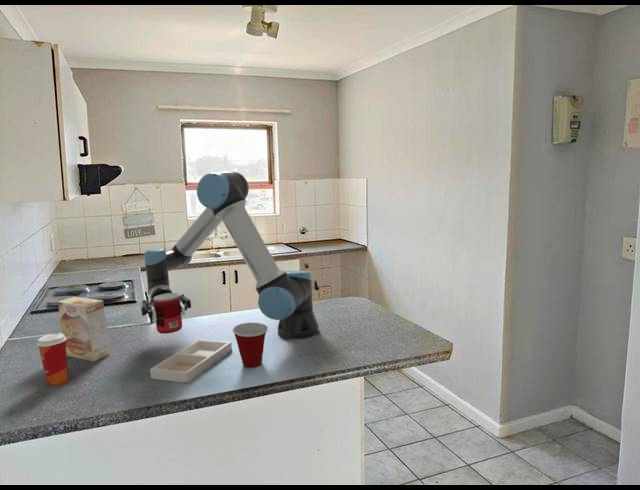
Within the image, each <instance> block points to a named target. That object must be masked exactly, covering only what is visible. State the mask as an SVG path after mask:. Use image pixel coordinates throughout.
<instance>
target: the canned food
mask: <svg viewBox="0 0 640 490" xmlns="http://www.w3.org/2000/svg"><path fill="white" fill-rule="evenodd" d="M179 296H180V295H179V293H177V292H172V293H166V294H161V295H157V296H155V297H154V298H153V301H154V308H155V311H156V319H157V320H156V321H155V325H156V326H155V327H156V331H157V333H159V334H163V335H164V334H165V335H166V334H173V333H176V332H178V331H181V329H182V328H183V321H182V320H183V319H182V313H181V308H180V298H179Z"/></svg>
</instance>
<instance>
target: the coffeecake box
mask: <svg viewBox="0 0 640 490" xmlns="http://www.w3.org/2000/svg"><path fill="white" fill-rule="evenodd" d="M104 305H105V304H104V300H103V299H95V298H87V297H81V296H72V297H70V298H65V299H62V300H58V301H57V307H58V308H57V309H58V315H59V316H58V317H59V320H60V321H59V322H60V329H61V334H64V336H65V337H66V340H65V341H66V353H67V357H71V358H74V359H75V358H76V359H81V360H85V361H88V362H89V361H90V362H96V361H98V360H101V359H102V358H104V357H107V356H109V355H111V350H110V341H109V336H108V335H109V334H108V329H107V322H106V321H107V320H106V313H105V306H104Z"/></svg>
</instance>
